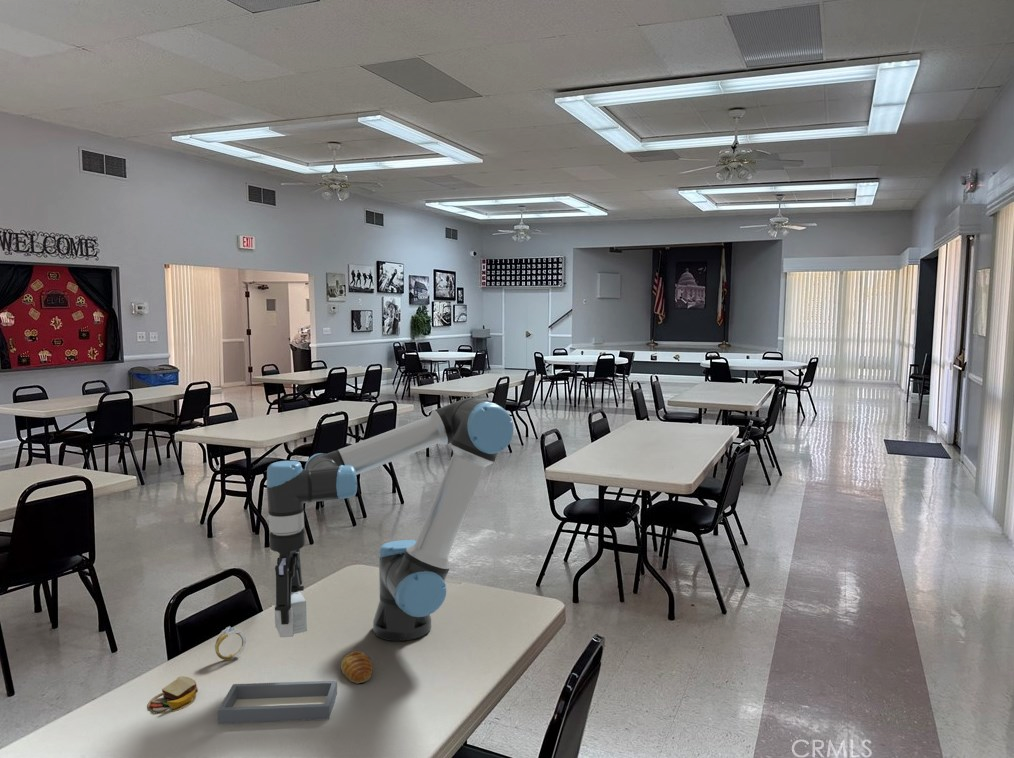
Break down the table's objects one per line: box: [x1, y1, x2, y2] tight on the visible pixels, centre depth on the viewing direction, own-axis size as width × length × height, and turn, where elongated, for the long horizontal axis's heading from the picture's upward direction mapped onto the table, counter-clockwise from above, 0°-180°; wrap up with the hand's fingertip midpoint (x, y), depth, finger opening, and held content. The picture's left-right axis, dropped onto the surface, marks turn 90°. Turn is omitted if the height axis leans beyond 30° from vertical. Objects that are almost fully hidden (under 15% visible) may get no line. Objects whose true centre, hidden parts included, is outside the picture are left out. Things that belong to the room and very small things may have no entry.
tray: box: [217, 680, 338, 725], centre depth 146 cm, size 22×10×4 cm, turn 95°
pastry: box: [340, 650, 373, 684], centre depth 160 cm, size 9×7×4 cm
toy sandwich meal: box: [147, 675, 199, 714], centre depth 149 cm, size 9×10×4 cm
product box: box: [273, 591, 308, 636], centre depth 159 cm, size 6×6×7 cm
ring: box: [214, 625, 247, 661], centre depth 167 cm, size 7×3×8 cm, turn 122°
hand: (291, 627), depth 159 cm, fingers closed on product box, 8 cm apart
